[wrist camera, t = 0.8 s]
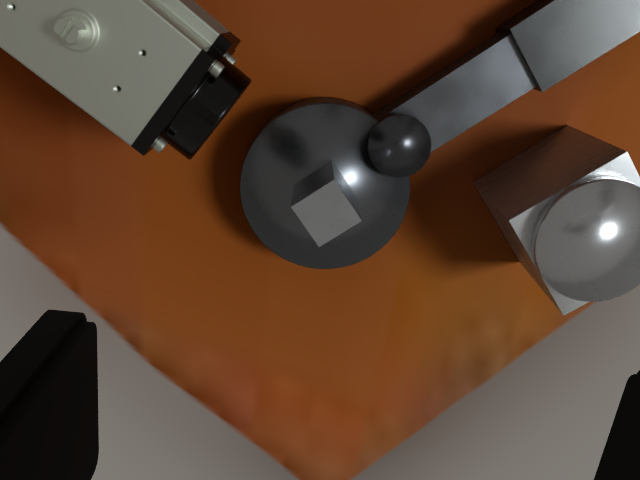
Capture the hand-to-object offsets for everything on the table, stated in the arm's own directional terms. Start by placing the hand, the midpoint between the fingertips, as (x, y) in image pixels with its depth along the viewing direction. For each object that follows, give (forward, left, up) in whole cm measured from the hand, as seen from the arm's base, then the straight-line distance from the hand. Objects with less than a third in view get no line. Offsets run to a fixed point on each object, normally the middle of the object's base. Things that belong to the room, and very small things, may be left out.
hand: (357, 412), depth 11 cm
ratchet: (-5, +2, -25) cm, 26 cm away
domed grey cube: (-9, +10, -25) cm, 28 cm away
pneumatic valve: (+4, -10, -26) cm, 28 cm away
